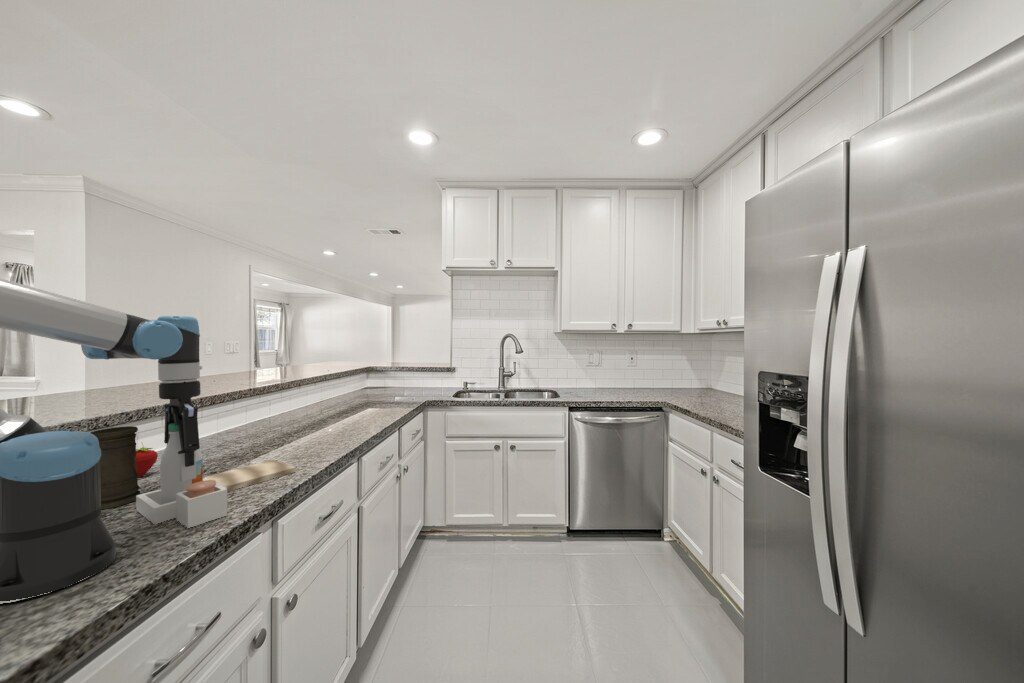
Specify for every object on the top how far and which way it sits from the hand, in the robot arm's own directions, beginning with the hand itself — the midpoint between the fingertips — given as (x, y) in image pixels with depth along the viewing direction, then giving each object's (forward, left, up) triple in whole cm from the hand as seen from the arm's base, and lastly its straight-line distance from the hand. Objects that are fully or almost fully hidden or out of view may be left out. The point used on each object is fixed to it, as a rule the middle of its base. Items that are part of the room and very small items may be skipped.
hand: (182, 476), depth 92 cm
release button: (0, -12, -5) cm, 13 cm away
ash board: (+18, +8, -7) cm, 21 cm away
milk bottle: (0, 0, -7) cm, 7 cm away
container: (-8, +18, -7) cm, 21 cm away
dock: (0, -4, -7) cm, 8 cm away
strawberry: (+1, +38, -7) cm, 39 cm away
